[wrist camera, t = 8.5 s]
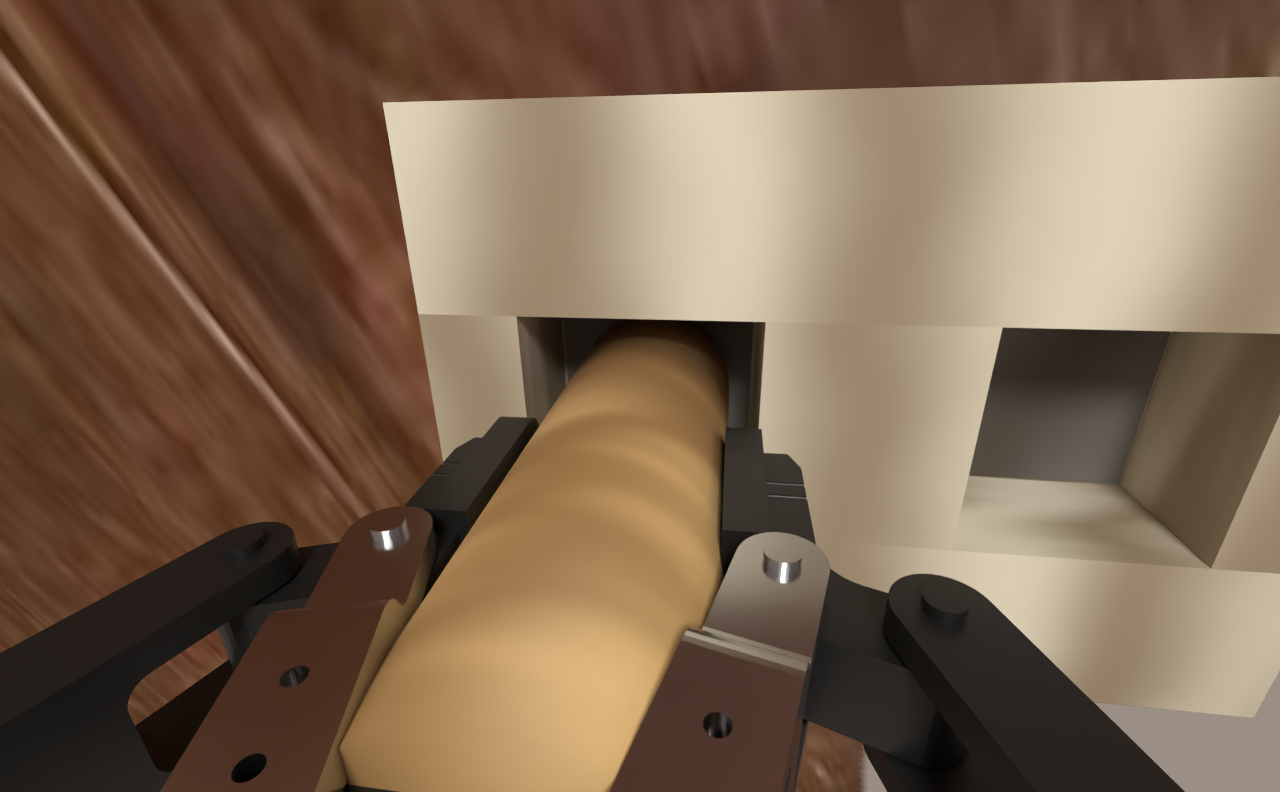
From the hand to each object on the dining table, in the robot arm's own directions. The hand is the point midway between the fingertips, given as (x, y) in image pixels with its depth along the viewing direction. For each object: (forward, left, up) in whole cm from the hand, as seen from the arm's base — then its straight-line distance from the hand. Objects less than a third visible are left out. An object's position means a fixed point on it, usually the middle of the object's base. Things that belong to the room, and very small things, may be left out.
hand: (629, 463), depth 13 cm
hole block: (-5, 0, -6) cm, 8 cm away
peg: (0, 0, -4) cm, 4 cm away
